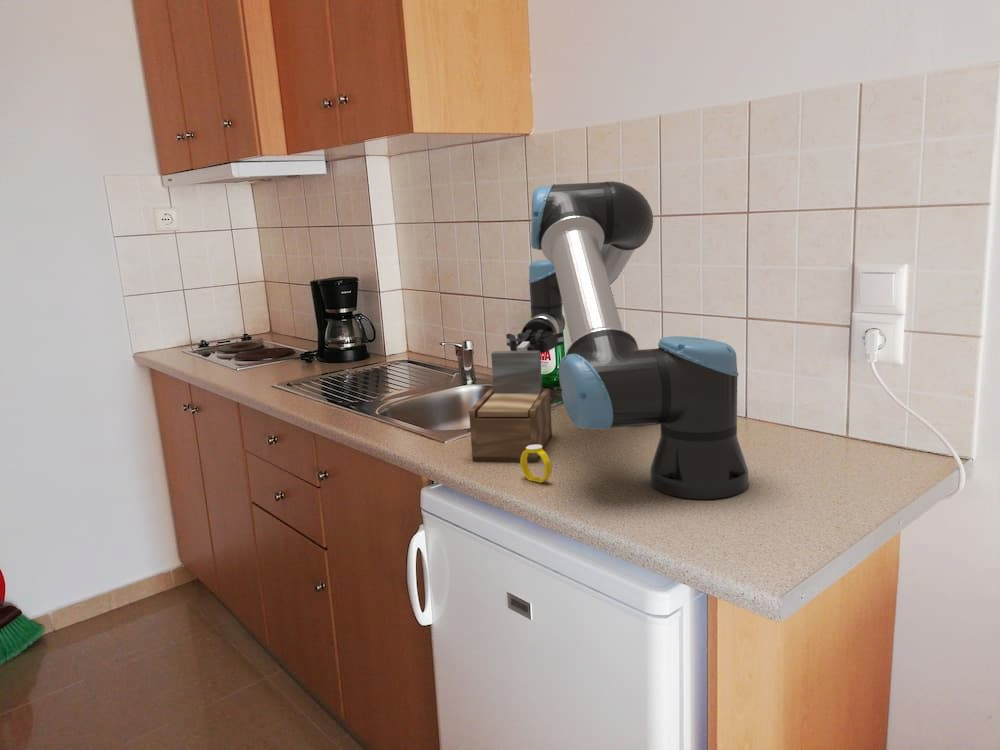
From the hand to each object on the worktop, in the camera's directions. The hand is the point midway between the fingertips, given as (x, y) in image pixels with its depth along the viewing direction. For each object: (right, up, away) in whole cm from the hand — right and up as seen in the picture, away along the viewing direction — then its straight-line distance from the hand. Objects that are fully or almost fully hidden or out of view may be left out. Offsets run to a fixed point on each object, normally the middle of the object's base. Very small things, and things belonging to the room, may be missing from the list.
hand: (520, 354), depth 157 cm
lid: (-2, -10, -10) cm, 14 cm away
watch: (+2, -22, -26) cm, 34 cm away
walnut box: (-1, -18, -8) cm, 20 cm away
